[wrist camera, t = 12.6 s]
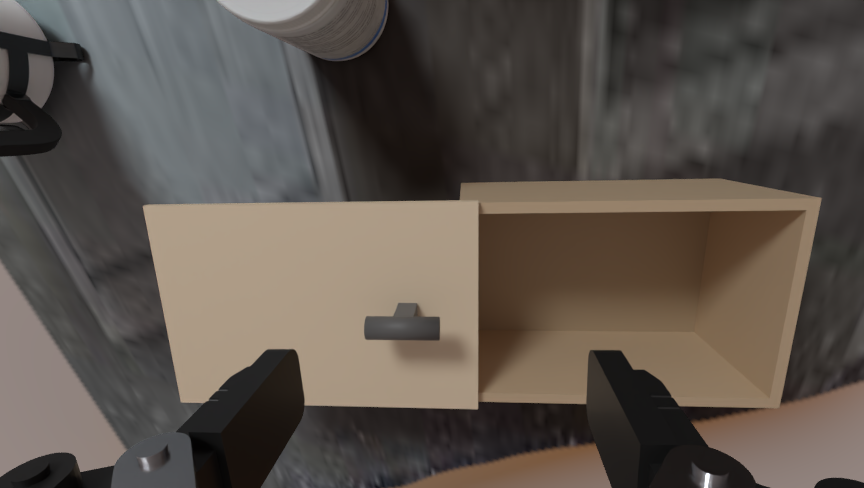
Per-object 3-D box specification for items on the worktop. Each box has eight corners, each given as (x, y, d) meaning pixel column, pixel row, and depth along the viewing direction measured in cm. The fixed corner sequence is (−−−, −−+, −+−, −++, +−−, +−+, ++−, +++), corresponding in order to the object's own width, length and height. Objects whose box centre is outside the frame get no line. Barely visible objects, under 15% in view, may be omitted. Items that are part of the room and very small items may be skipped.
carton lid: (478, 200, 30) (480, 210, 26) (477, 404, 35) (479, 441, 31) (148, 204, 32) (103, 215, 28) (185, 398, 36) (150, 431, 32)
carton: (719, 178, 40) (821, 198, 29) (697, 335, 44) (779, 408, 33) (460, 182, 42) (459, 202, 31) (462, 333, 46) (461, 401, 35)
